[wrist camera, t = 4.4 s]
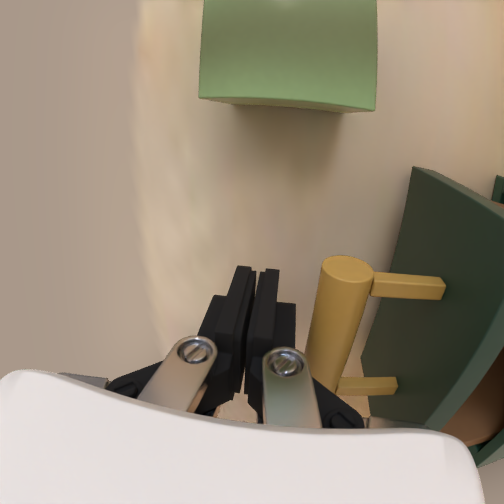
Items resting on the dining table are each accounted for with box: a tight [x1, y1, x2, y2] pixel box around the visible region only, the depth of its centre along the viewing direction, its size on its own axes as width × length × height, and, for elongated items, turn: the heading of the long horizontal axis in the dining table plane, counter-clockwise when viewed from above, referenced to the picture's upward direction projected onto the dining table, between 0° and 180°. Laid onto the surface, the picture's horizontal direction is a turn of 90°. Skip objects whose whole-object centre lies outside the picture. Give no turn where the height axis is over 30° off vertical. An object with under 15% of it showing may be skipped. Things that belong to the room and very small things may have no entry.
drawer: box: [304, 166, 504, 447], centre depth 10 cm, size 18×11×8 cm, turn 88°
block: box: [199, 0, 377, 113], centre depth 8 cm, size 5×5×5 cm
